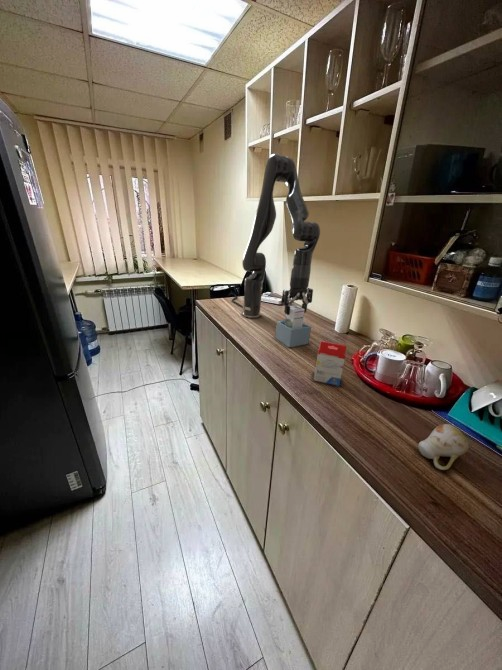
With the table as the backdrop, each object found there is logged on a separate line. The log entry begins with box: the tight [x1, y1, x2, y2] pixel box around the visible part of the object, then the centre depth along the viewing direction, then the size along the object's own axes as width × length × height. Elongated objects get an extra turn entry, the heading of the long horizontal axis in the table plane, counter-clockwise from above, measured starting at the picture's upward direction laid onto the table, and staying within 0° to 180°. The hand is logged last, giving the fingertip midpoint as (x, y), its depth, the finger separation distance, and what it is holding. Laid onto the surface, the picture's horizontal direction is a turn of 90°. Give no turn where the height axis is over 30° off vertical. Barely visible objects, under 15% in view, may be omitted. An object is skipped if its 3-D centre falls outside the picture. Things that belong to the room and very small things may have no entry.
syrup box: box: [284, 305, 305, 329], centre depth 118 cm, size 6×6×14 cm
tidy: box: [274, 319, 312, 348], centre depth 119 cm, size 11×11×8 cm
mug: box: [418, 423, 469, 471], centre depth 64 cm, size 8×10×10 cm
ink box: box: [313, 340, 348, 387], centre depth 90 cm, size 8×5×15 cm, turn 71°
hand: (295, 313), depth 116 cm, fingers open, 8 cm apart
